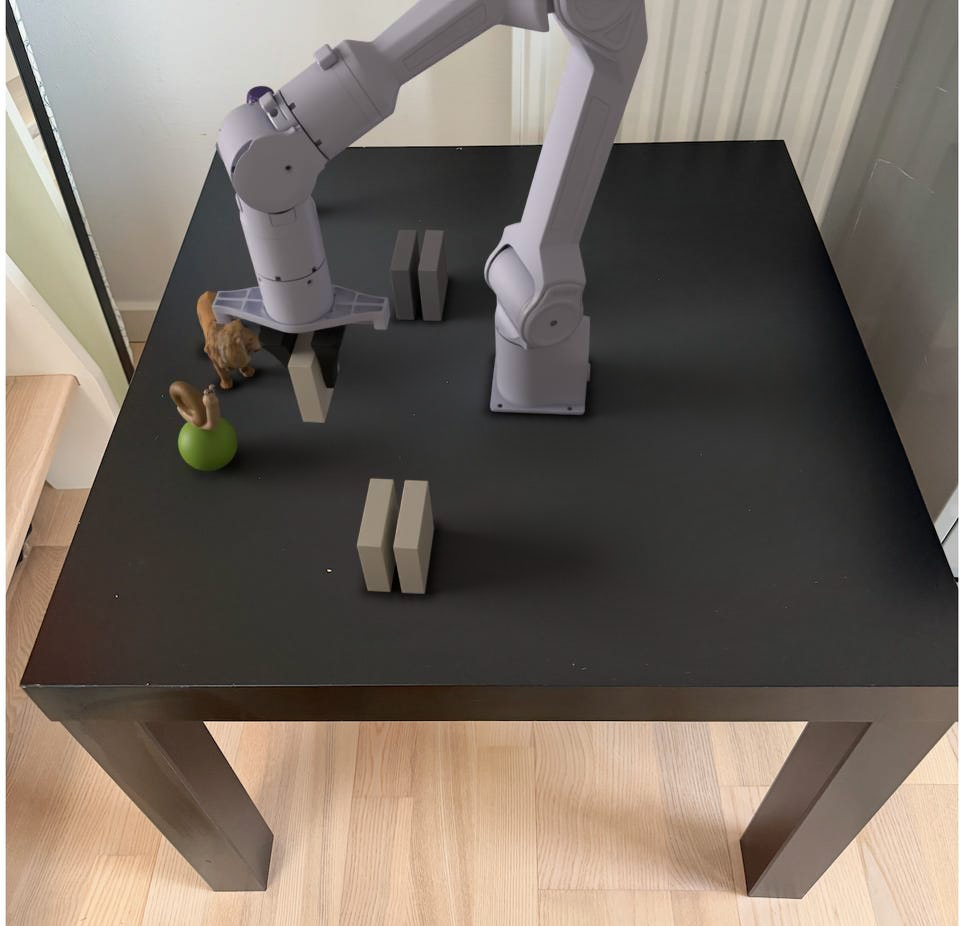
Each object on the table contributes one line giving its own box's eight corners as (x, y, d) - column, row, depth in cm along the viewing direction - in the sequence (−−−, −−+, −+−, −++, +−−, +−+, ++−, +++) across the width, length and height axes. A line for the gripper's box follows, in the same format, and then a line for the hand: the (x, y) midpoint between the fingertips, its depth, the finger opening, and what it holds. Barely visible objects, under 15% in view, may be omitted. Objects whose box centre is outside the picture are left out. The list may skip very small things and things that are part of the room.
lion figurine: (282, 390, 95) (263, 325, 88) (235, 411, 93) (212, 347, 86) (226, 313, 103) (205, 248, 96) (182, 332, 101) (157, 267, 94)
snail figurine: (224, 494, 86) (189, 408, 77) (175, 468, 88) (135, 381, 79) (262, 456, 89) (232, 369, 80) (213, 432, 91) (179, 344, 82)
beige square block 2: (434, 528, 83) (428, 480, 77) (424, 594, 78) (417, 548, 73) (412, 527, 83) (405, 479, 78) (401, 592, 79) (393, 547, 73)
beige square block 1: (401, 526, 83) (393, 479, 78) (390, 592, 79) (381, 546, 73) (380, 525, 83) (370, 478, 78) (367, 590, 79) (356, 545, 73)
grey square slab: (422, 279, 105) (417, 229, 100) (414, 320, 101) (408, 270, 96) (405, 279, 105) (399, 229, 100) (396, 319, 101) (389, 269, 96)
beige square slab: (339, 368, 86) (327, 311, 80) (324, 423, 81) (310, 367, 76) (318, 367, 86) (305, 310, 81) (302, 422, 82) (287, 366, 76)
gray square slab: (447, 280, 105) (444, 230, 100) (441, 321, 101) (436, 270, 95) (430, 280, 105) (426, 229, 100) (423, 320, 101) (417, 270, 95)
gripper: (387, 230, 74) (403, 352, 84) (214, 225, 75) (251, 346, 85) (373, 286, 69) (392, 408, 80) (189, 280, 70) (231, 400, 81)
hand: (318, 379), depth 82 cm, fingers closed on beige square slab, 2 cm apart
